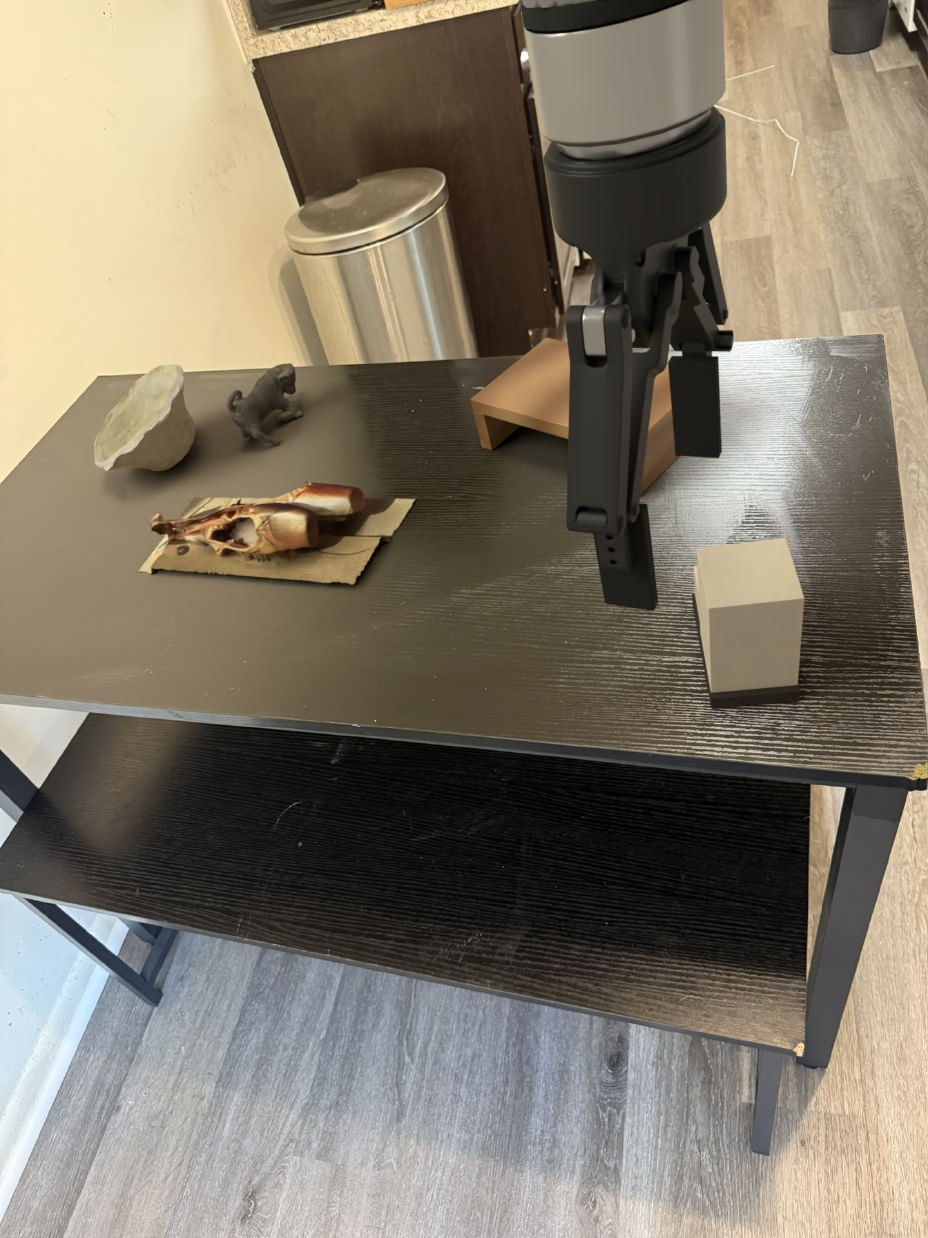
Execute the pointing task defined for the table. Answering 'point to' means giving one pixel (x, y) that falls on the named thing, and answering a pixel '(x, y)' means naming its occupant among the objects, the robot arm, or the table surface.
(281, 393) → the dog figurine
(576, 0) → the robot arm
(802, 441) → the table surface
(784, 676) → the beige block black base
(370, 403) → the table surface
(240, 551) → the ballet pointe shoes
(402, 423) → the table surface
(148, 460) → the bowl
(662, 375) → the shoe shelf
